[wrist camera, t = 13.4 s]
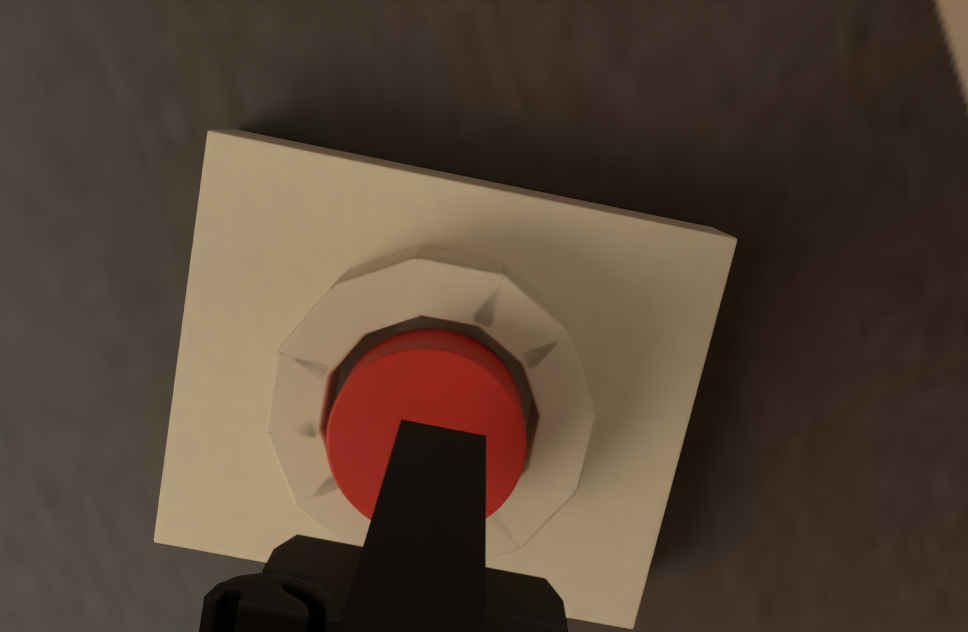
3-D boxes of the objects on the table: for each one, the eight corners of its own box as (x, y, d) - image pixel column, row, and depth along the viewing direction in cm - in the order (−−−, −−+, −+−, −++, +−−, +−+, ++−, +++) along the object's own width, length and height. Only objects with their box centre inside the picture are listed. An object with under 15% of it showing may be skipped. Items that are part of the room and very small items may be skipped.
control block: (712, 227, 22) (764, 250, 18) (619, 584, 24) (647, 675, 20) (235, 129, 21) (178, 130, 17) (183, 504, 23) (122, 580, 19)
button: (540, 346, 19) (546, 369, 17) (502, 516, 19) (504, 554, 18) (355, 310, 18) (342, 330, 17) (325, 483, 19) (310, 518, 17)
